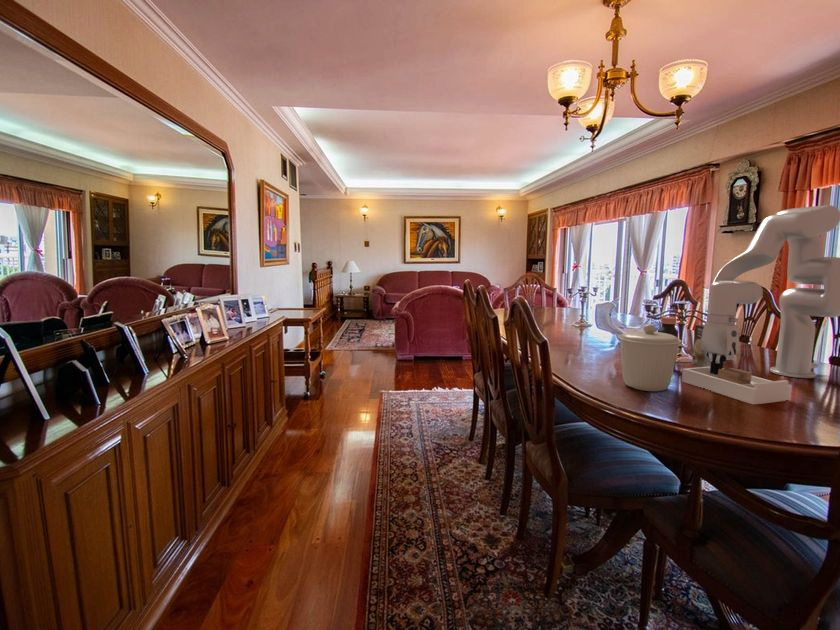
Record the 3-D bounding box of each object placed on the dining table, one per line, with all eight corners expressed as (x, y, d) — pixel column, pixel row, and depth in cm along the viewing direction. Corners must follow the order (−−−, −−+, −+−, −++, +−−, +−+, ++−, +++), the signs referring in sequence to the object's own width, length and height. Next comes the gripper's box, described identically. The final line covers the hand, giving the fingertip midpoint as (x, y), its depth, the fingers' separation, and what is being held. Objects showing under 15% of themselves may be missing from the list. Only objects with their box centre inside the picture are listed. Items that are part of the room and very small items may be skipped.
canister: (644, 398, 125) (649, 329, 123) (603, 381, 143) (606, 321, 140) (691, 393, 130) (697, 327, 128) (646, 377, 148) (650, 319, 145)
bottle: (669, 366, 162) (673, 316, 159) (678, 371, 155) (683, 319, 153) (651, 366, 163) (655, 316, 160) (659, 371, 156) (663, 318, 154)
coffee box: (690, 363, 168) (694, 324, 165) (706, 363, 167) (710, 324, 165) (706, 369, 158) (709, 328, 156) (722, 369, 158) (726, 328, 156)
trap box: (713, 378, 146) (715, 361, 145) (788, 400, 123) (791, 380, 122) (681, 381, 143) (683, 364, 142) (753, 404, 120) (755, 384, 119)
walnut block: (731, 378, 136) (732, 368, 135) (750, 383, 130) (751, 372, 130) (717, 379, 134) (718, 369, 134) (735, 385, 128) (736, 374, 128)
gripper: (753, 322, 129) (747, 379, 132) (709, 316, 144) (704, 367, 146) (734, 323, 127) (728, 381, 130) (691, 317, 142) (687, 369, 144)
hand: (715, 373), depth 138 cm, fingers closed
